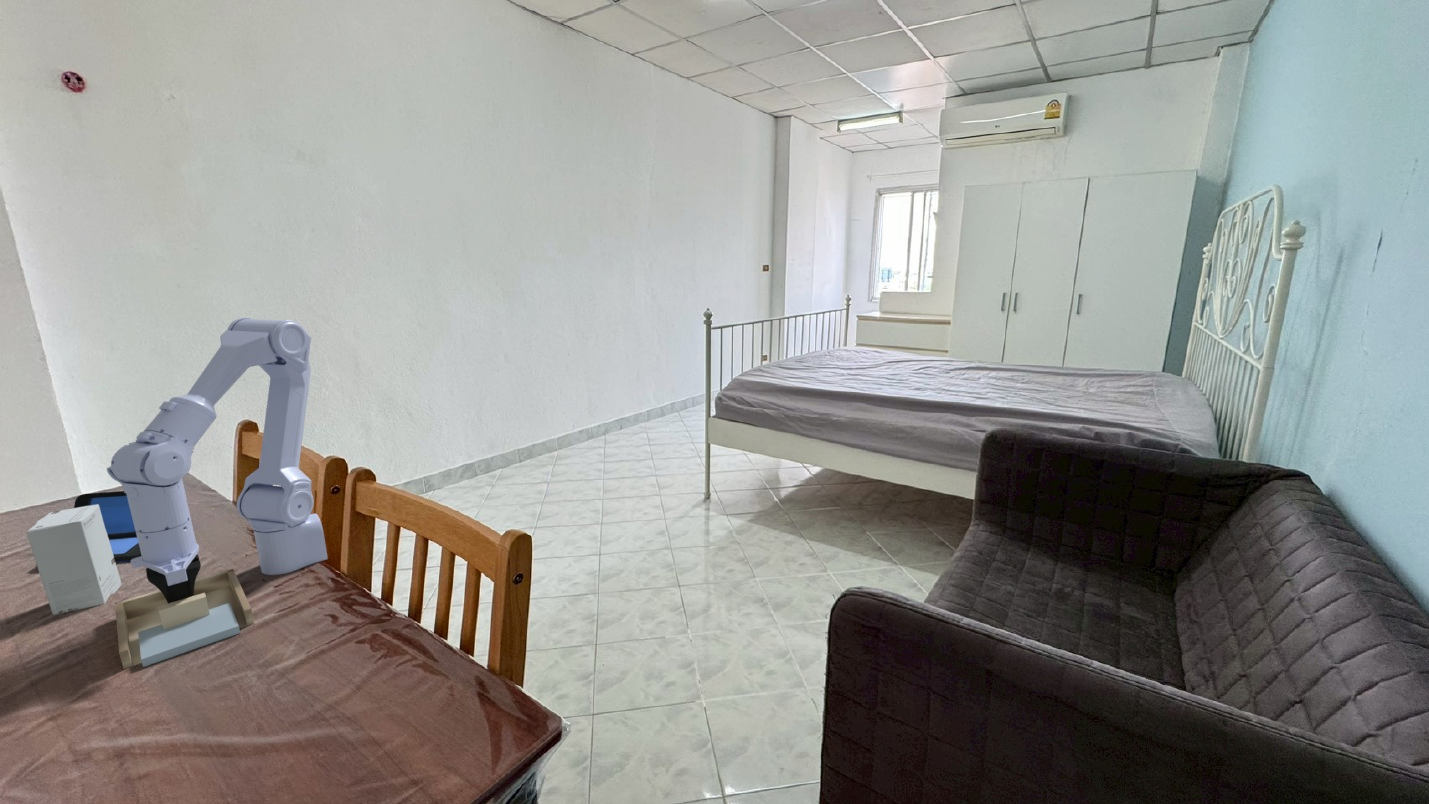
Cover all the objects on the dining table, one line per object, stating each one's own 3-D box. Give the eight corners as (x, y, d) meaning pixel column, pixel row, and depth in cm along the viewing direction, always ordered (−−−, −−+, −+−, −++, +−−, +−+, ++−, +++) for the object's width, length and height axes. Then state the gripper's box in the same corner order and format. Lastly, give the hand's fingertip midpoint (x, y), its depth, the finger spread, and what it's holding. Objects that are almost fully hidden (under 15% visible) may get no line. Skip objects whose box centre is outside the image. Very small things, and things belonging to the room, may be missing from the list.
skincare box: (107, 609, 88) (83, 521, 84) (50, 621, 85) (23, 531, 81) (123, 583, 95) (101, 501, 91) (70, 594, 91) (47, 509, 88)
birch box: (236, 587, 94) (233, 568, 93) (255, 628, 84) (251, 608, 83) (120, 623, 85) (114, 602, 84) (125, 675, 74) (119, 652, 73)
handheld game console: (32, 573, 97) (18, 524, 95) (88, 538, 110) (76, 493, 107) (146, 561, 102) (135, 514, 100) (187, 528, 114) (178, 485, 112)
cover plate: (231, 609, 87) (226, 585, 86) (240, 633, 82) (234, 607, 81) (139, 639, 80) (133, 613, 79) (143, 667, 74) (136, 639, 73)
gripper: (121, 516, 82) (142, 598, 85) (125, 551, 72) (148, 643, 76) (186, 502, 87) (203, 580, 90) (198, 533, 78) (217, 620, 81)
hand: (183, 607), depth 83 cm, fingers closed
